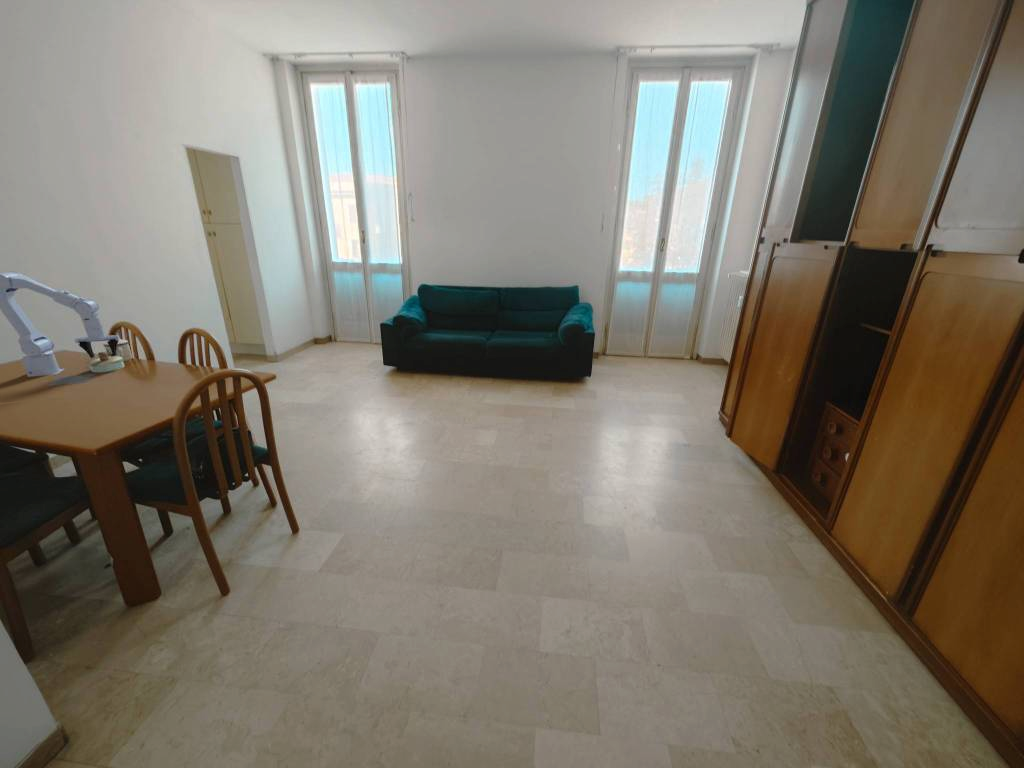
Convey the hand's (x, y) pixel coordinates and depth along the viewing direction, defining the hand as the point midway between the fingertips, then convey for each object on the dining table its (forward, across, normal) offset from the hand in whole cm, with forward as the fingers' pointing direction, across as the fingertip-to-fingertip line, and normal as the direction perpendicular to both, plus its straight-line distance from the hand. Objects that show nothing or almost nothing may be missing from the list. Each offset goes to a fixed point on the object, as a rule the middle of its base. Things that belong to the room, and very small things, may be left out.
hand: (104, 356), depth 184 cm
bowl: (+6, 0, 0) cm, 6 cm away
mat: (+6, -8, -13) cm, 17 cm away
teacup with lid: (+7, +1, +15) cm, 16 cm away
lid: (+2, 0, -1) cm, 2 cm away
